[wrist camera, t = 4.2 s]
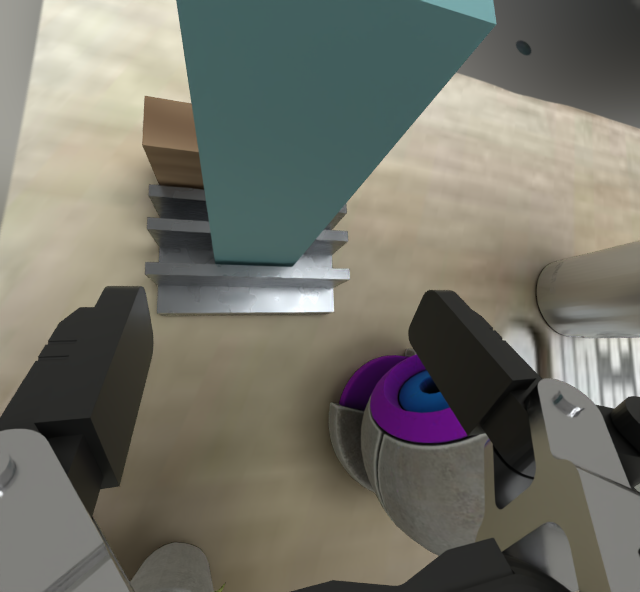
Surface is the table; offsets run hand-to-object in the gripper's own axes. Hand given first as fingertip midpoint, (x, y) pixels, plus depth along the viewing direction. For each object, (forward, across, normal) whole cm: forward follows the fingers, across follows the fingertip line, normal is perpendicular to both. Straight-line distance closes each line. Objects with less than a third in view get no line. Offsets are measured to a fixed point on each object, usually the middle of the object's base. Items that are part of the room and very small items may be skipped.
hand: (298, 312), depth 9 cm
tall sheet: (+16, 0, +8) cm, 18 cm away
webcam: (+8, -13, +20) cm, 25 cm away
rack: (+20, 0, +7) cm, 21 cm away
